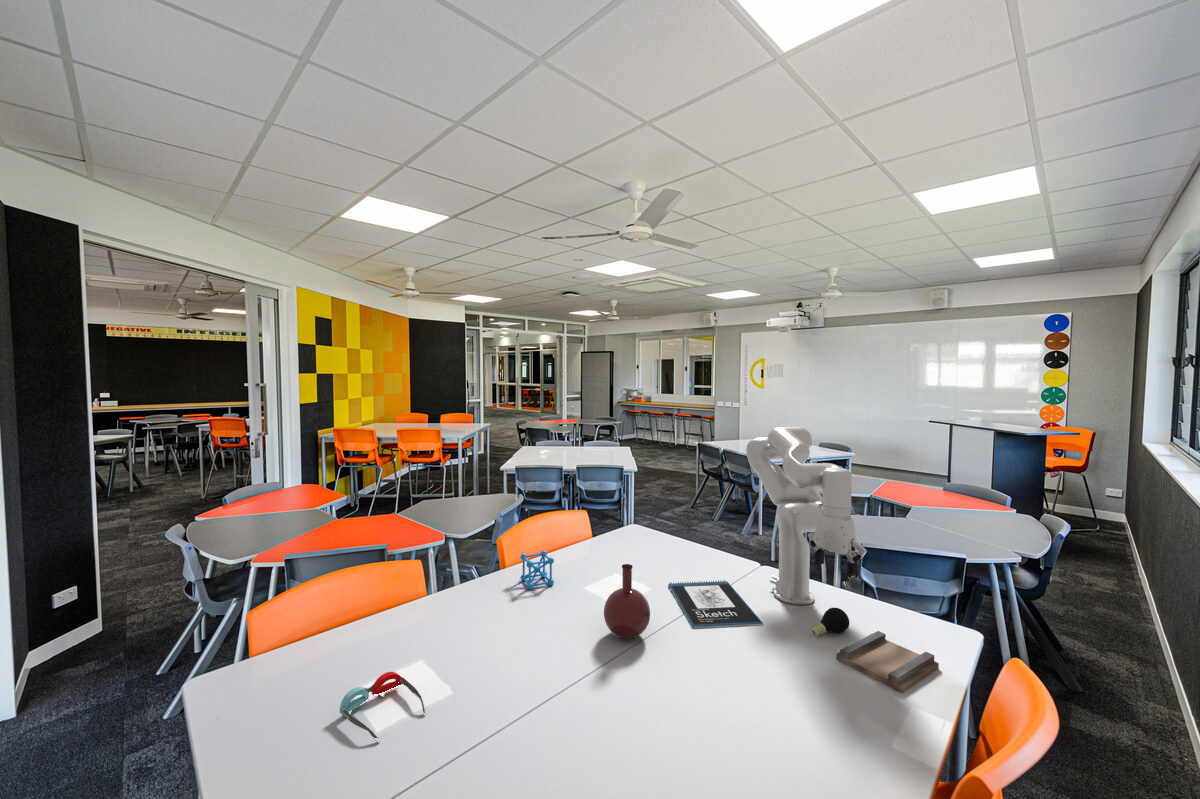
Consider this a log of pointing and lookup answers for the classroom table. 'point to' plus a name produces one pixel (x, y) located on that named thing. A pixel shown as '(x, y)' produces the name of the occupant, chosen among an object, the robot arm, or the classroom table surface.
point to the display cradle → (888, 661)
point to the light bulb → (832, 622)
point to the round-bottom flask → (627, 609)
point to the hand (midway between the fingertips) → (835, 569)
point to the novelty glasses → (375, 689)
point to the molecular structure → (537, 569)
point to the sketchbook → (713, 604)
